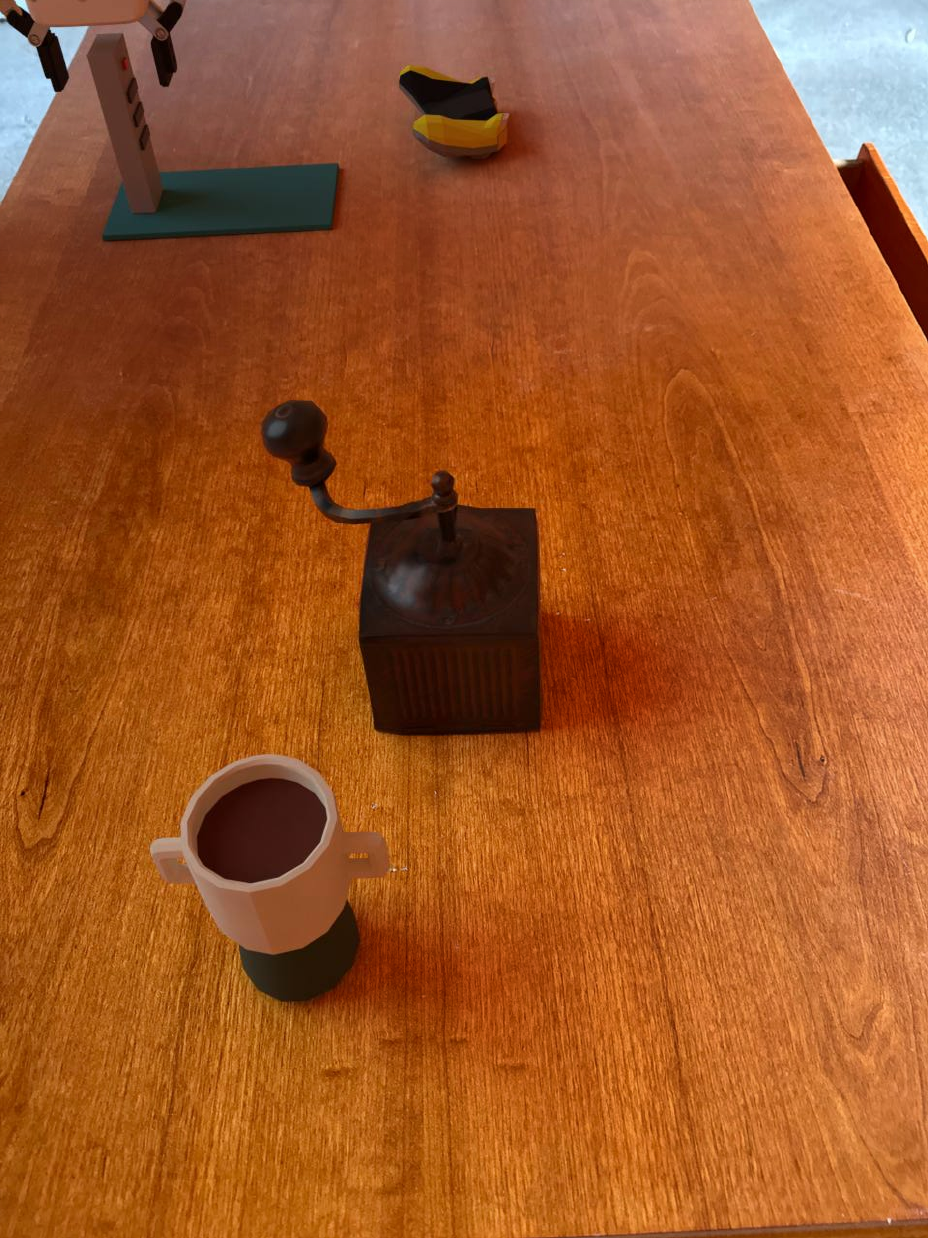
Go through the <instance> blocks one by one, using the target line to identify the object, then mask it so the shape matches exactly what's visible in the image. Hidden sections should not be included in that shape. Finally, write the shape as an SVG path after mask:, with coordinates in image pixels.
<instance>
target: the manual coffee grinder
mask: <svg viewBox="0 0 928 1238" xmlns="http://www.w3.org/2000/svg"><path fill="white" fill-rule="evenodd" d="M328 429H329V422H328V417H327V415H326V414H325V413H324V411H323V410H322V409H321V408H320V407H319V405H317V404H316V403H315V402H314V401H313V400H310V399H309V400H308V399H307V400H306V399H305V400H304V399H303V400H302V399H290V400H287V401H285V402H282V403H280V404H278V405H276V406H274V407H273V408H272V409H270V410H269V411H268V412H267V413H266V415H265V416H264V418H263V420H262V421H261V430H260V434H261V439H262V444H263V446H264V448H265V450H266V452H267V453H268V454H269V455H271V456H272V457H273V458H276V459H279V460H281V461H284V462H287V463H288V464H289V465H290V477H291V478H290V479H291V481H292V482H293V483H294V485H296V486H298V487H308V489H309V492H310V495H311V497H312V500H313V503H314V505H315V507H316V509H317V510H318V511H319V512H320V513H321V515H322V516H324V518H326V519H328V520H330V521H331V522H335V523H336V524H345V525H365V524H367V525H368V524H369V527H368V531H367V536H366V543H365V551H364V552H365V553H364V561H363V570H362V578H361V584H360V591H359V597H358V598H359V599H358V643H359V650H360V655H361V659H362V664H363V670H364V673H365V679H366V684H367V688H368V689H367V690H368V694H369V699H370V705H371V712H372V718H373V719H372V720H373V730H375V731H376V732H378V733H385V734H391V735H398V736H473V735H474V736H475V735H491V734H492V735H493V734H494V735H495V734H514V733H534V732H535V733H536V732H540V731H541V728H542V721H543V720H542V719H543V711H544V710H543V708H544V693H543V692H544V690H543V679H542V678H543V677H542V637H541V615H542V607H541V606H542V604H541V603H542V602H541V601H542V600H541V599H542V598H541V593H542V592H541V544H540V530H539V529H540V528H539V521H538V517H537V510H536V509H537V508H536V507H477V506H470V505H465V504H459V494H458V492H457V491H456V489H454V488H455V483H456V478H455V477H454V476H453V475H452V474H451V473H450V472H448V471H446V470H445V469H441V470H438V471H436V472H434V474H433V477H432V479H431V482H430V483H429V485H430V487H431V488H432V490H433V492H432V493H431V494H430V496H428V497H424V498H422V499H418V500H415V501H409V502H406V503H403V504H401V505H397V506H388V507H379V508H365V509H364V508H363V509H356V508H355V509H354V508H348V507H344V506H342V505H340V504H339V503H337V502H335V501H334V500H333V498H332V497H331V495H330V493H329V490H328V488H327V485H326V482H327V481H328V479H329V478H330V477H331V476H332V475H333V474H334V471H335V469H336V468H337V465H338V463H337V460H336V459H335V457H334V455H333V454H332V452H330V451H328V450H327V449H326V447H325V445H326V444H325V441H326V436H327V432H328Z"/></svg>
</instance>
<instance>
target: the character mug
mask: <svg viewBox="0 0 928 1238" xmlns="http://www.w3.org/2000/svg"><path fill="white" fill-rule="evenodd" d="M337 801H338V800H337V798H336V796H335V794H334V792H333V791H332V789H331V787H330V786H329V785H328V783H327V781H326V780H325V779H324V778H323V776H322V774H320V772H319V771H317V770H316V769H314V768H313V767H311V766H310V765H308V764H307V763H305V762H304V761H302V760H300V759H298V758H294V757H291V756H286V755H283V754H272V753H263V754H256V755H251V756H248V757H245V758H242V759H238V760H235V761H233V762H231V763H229V764H228V765H226V766H224V767H222V768H221V769H220V770H217V771H216V772H215V773H213V774H211V775H209V777H208V778H207V779H206V780H205V781H204V782H203V784H201V786H200V787H198V789H197V790H196V791H195V792H194V794H192V796H191V797H190V799H189V801H188V803H187V806H186V809H185V811H184V812H183V815H182V817H181V820H180V822H179V823H180V827H179V828H180V836H179V837H177V836H176V837H175V836H174V837H161V838H157V839H154V841H153V842H152V843H151V844H150V848H149V852H150V856H151V858H152V860H153V863H154V865H155V867H156V869H157V871H158V873H159V875H160V878H161V879H162V880H163V881H165V883H167V884H175V885H189V884H191V885H192V884H195V885H196V887H197V889H198V891H199V894H200V896H201V898H202V900H203V903H204V904H205V907H206V909H207V911H208V913H209V914H210V916H211V918H212V919H213V921H214V922H215V924H216V926H217V928H218V930H219V931H220V932H221V933H223V934H224V935H225V936H226V937H228V938H229V939H230V940H232V941H234V942H235V943H236V944H237V945H238V952H239V956H240V957H239V958H240V961H241V966H242V969H243V971H244V972H245V974H246V975H247V977H248V979H250V981H251V982H252V984H253V985H254V987H255V988H256V989H257V991H260V992H261V993H263V994H265V995H267V996H269V997H271V998H273V999H275V1000H277V1001H279V1002H282V1003H287V1002H288V1003H289V1002H290V1003H291V1002H311V1001H312V1000H314V999H316V998H318V997H320V996H322V995H324V994H326V993H328V992H330V991H332V990H334V989H336V988H337V986H338V985H339V983H341V981H342V980H343V979H344V977H346V975H347V974H348V973H349V972H350V970H351V969H352V968H353V966H354V963H355V960H356V957H357V954H358V950H359V947H360V944H361V936H360V932H359V927H358V920H357V917H356V914H355V912H354V911H353V908H352V906H351V904H350V903H351V902H350V901H349V900H348V895H349V892H350V889H351V885H352V882H353V880H358V879H359V880H361V879H362V880H363V879H379V878H383V877H386V875H387V874H388V872H389V870H390V868H391V861H390V855H389V850H388V845H387V841H386V840H385V837H384V836H383V835H382V834H381V832H378V831H370V830H369V831H345V829H344V827H343V822H342V819H341V815H340V811H339V807H338V802H337ZM350 854H366V855H367V857H350ZM178 859H180V860H182V859H184V861H185V862H179V861H178Z"/></svg>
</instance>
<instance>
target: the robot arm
mask: <svg viewBox="0 0 928 1238" xmlns="http://www.w3.org/2000/svg"><path fill="white" fill-rule="evenodd" d="M24 1H25V5H26V8H27V10H28V11H27V10H25V9H24V8H23V7H22V6H20V5H18V4H17V2H16V0H0V14H1V15H3V16H4V17H5V19H6V22H7V23H8V25H9V26H10V27H11V28H13V29H15V31H17V32H18V33H20V34H21V35H22V36H24V38H27V41H28V43H29V45H31V46H32V47H35V49H36V52H37V55H38V59H39V61H40V65H41V69H42V71H43V75H44V77H45V79H46V80H50V82H51V86H52V89H53V92H54V93H61V92H63V91H64V89H65V87H66V85H67V83H68V81H69V80H70V74H69V71H68V66H67V63H66V61H65V57H64V54H63V51H62V47H61V44H60V41H59V37H58V35H56V33H55V32H52V30H51V28H77V27H78V28H79V27H99V26H100V27H101V26H116V25H118V26H119V25H128V24H134V23H137V22H138V23H139V24H140V25H142V26H143V28H145V30H147V31H148V32H149V33H150V34H151V35H152V38H151V40H150V42H149V43H150V49H151V54H152V57H153V58H152V59H153V62H154V66H155V70H156V74H157V79H158V83H159V86H161V87H162V88H169V87H170V84H171V83H172V82H171V81H172V79H173V76H174V74H176V73H177V71H178V62H177V57H176V53H175V52H176V51H175V48H174V44H173V38H172V35H171V32H172V31H173V29H174V28H175V26H176V25H177V23H178V22H179V20H180V19H181V18H182V16H183V13H184V10H185V8H186V3H187V0H170V1H169V3H168V4H167V6H166V8H165V9H163V8H162V7H161V6H160V5H158V3H156V1H154V0H24Z"/></svg>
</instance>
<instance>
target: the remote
mask: <svg viewBox="0 0 928 1238" xmlns="http://www.w3.org/2000/svg"><path fill="white" fill-rule="evenodd" d="M86 58H87V62H88V65H89V69H90V72H91V76H92V79H93V80H92V81H93V83H94V86H95V90H96V93H97V97H98V100H99V101H98V102H99V103H100V107H101V111H102V114H103V119H104V122H105V125H106V128H107V132H108V135H109V139H110V142H111V147H112V150H113V153H114V157H115V160H116V164H117V167H118V171H119V174H120V177H121V182H122V181H123V185H124V188H125V192H126V195H127V199H128V202H129V206H130V209H131V213H132V214H136V213H155V212H156V210H157V207H158V204H159V201H160V198H161V195H162V191H163V186H162V182H161V178H160V174H159V172H160V170H159V166H158V163H157V158H156V155H155V152H154V147H153V144H152V139H151V132H150V127H149V124H148V123H147V121H146V115H145V108H144V104H143V101H141V96H140V94H139V85H138V80H137V78H136V77H135V74H134V70H133V67H132V66H133V65H132V62H131V59H130V54H129V51H128V46H127V43H126V39H125V35H124V33H123V32H111V33H97V34H96V35H95V37H94V39H93V41H92V44H91V46H90V48H89V50H88V52H87V54H86Z"/></svg>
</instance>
